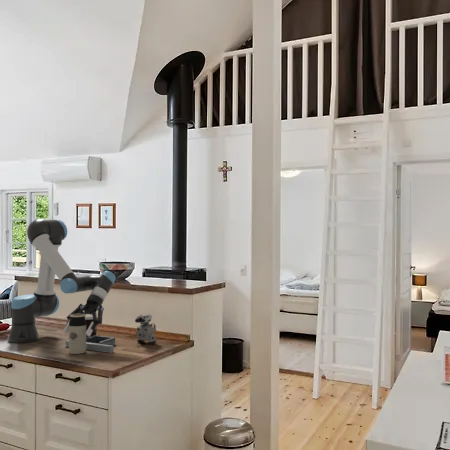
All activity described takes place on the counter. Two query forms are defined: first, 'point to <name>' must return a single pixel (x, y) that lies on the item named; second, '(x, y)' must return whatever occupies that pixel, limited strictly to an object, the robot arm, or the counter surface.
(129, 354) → the counter surface
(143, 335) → the figurine
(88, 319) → the coffee mug
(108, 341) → the grey square frame
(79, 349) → the travel mug
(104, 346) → the rail
